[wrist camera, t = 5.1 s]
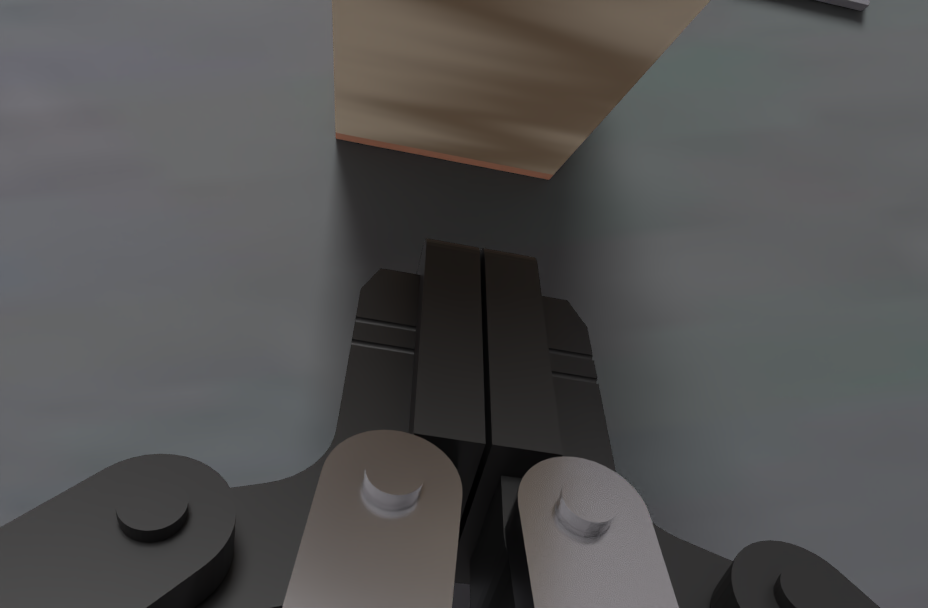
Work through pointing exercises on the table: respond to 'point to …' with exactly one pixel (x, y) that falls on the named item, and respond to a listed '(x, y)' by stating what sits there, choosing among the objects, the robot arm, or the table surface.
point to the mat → (849, 3)
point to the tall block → (492, 73)
